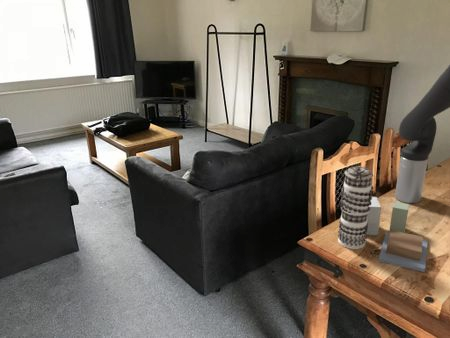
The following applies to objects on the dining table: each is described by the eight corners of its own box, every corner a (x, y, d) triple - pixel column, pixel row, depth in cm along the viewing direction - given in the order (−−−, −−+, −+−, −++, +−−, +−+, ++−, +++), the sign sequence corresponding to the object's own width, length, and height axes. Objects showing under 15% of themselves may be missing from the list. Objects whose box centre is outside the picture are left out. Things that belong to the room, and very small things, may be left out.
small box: (378, 236, 119) (381, 207, 115) (360, 234, 120) (363, 206, 116) (373, 223, 126) (377, 196, 122) (356, 222, 127) (359, 195, 123)
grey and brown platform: (385, 234, 119) (387, 224, 118) (427, 243, 114) (429, 232, 112) (378, 260, 106) (380, 249, 105) (424, 272, 101) (427, 260, 99)
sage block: (390, 225, 125) (394, 201, 122) (405, 228, 123) (409, 204, 119) (389, 231, 121) (392, 207, 118) (404, 234, 119) (408, 210, 116)
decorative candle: (373, 243, 115) (382, 170, 106) (353, 253, 110) (361, 177, 101) (350, 231, 122) (357, 161, 113) (330, 239, 118) (336, 168, 109)
